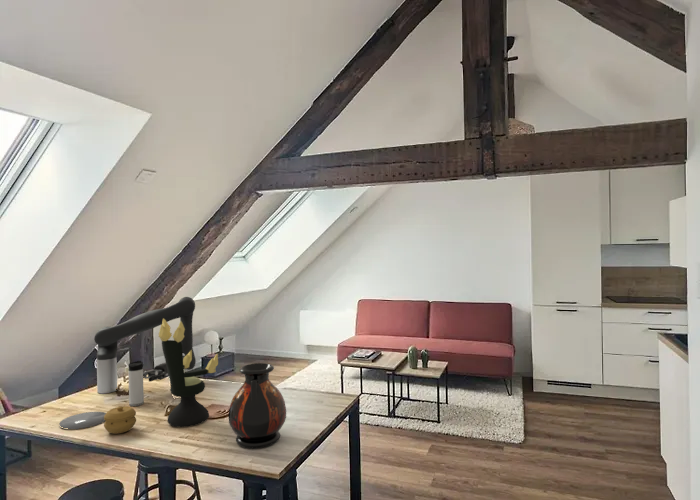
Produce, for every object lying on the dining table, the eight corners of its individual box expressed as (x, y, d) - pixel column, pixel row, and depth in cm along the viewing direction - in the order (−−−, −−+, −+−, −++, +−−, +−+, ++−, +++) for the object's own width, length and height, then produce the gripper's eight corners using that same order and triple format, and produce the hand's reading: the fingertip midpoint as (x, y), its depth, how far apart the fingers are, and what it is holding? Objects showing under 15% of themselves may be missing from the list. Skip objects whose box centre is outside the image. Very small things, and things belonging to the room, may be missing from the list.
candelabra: (221, 417, 198) (219, 313, 198) (178, 436, 179) (176, 321, 179) (191, 410, 208) (189, 311, 207) (147, 427, 189) (145, 318, 188)
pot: (97, 436, 181) (96, 411, 181) (116, 425, 192) (116, 401, 192) (124, 437, 179) (124, 412, 179) (142, 426, 191) (142, 402, 191)
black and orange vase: (234, 430, 184) (233, 360, 184) (288, 428, 185) (287, 359, 185) (223, 454, 162) (221, 375, 162) (284, 451, 164) (283, 373, 164)
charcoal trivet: (59, 419, 200) (59, 417, 200) (106, 411, 209) (106, 408, 209) (59, 433, 185) (59, 430, 185) (109, 423, 194) (109, 421, 194)
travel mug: (146, 401, 221) (145, 360, 221) (139, 406, 214) (138, 364, 214) (134, 401, 222) (133, 360, 222) (126, 406, 215) (125, 363, 215)
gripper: (153, 362, 239) (129, 370, 224) (176, 363, 235) (153, 372, 219) (153, 376, 239) (130, 385, 224) (176, 378, 235) (154, 387, 219)
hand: (142, 378), depth 222 cm, fingers open, 8 cm apart
